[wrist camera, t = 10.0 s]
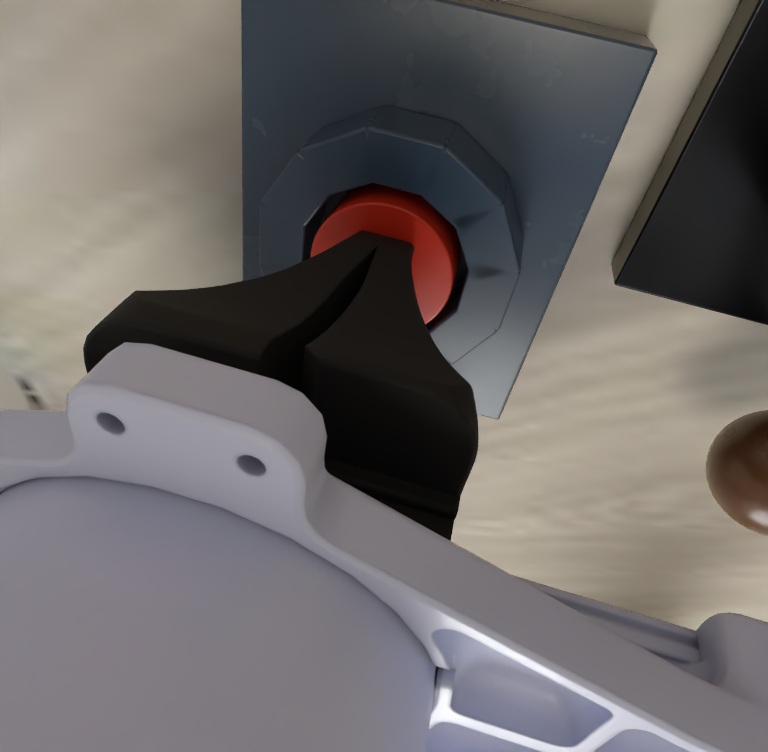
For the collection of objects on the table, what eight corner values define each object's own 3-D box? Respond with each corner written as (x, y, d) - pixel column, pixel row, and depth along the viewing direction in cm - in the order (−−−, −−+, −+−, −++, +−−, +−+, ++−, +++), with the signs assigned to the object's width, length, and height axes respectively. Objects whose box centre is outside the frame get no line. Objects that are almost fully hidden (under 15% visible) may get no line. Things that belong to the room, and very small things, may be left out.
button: (444, 314, 16) (434, 350, 15) (325, 281, 16) (304, 314, 15) (478, 195, 14) (470, 225, 12) (338, 159, 14) (315, 185, 13)
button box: (502, 388, 20) (494, 460, 17) (261, 320, 20) (218, 381, 18) (648, 35, 13) (673, 68, 10) (269, -52, 13) (199, -43, 11)
